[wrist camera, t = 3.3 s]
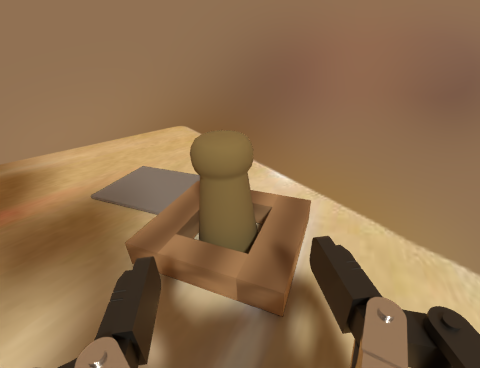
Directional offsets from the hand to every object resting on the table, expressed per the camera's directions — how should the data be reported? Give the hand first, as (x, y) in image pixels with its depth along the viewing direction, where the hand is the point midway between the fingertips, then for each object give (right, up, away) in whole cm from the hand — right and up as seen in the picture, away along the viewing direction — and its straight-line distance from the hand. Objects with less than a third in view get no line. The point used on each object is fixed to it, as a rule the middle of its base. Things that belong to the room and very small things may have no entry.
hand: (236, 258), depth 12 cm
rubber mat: (-12, +3, +22) cm, 26 cm away
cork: (-1, -2, +12) cm, 13 cm away
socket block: (-1, -2, +12) cm, 12 cm away
